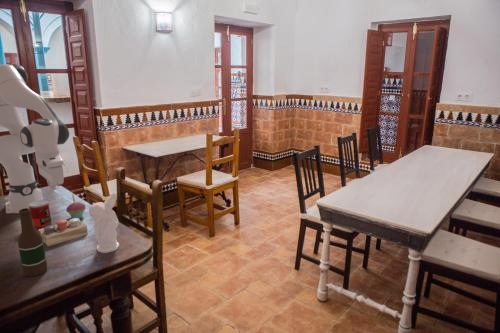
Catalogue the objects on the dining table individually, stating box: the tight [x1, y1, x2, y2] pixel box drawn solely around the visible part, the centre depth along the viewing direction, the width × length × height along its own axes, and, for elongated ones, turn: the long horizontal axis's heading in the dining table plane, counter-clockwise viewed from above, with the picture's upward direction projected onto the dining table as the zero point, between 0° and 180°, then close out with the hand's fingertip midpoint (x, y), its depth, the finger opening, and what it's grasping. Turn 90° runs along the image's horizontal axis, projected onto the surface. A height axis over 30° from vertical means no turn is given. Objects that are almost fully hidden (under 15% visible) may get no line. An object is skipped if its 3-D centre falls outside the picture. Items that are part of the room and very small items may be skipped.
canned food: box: [29, 199, 53, 229], centre depth 166 cm, size 8×8×11 cm
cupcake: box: [66, 192, 87, 219], centre depth 175 cm, size 9×8×12 cm
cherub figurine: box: [88, 193, 120, 254], centre depth 145 cm, size 12×12×22 cm
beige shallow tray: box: [37, 220, 89, 248], centre depth 156 cm, size 11×16×4 cm
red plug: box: [55, 219, 68, 231], centre depth 156 cm, size 4×4×6 cm
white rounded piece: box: [68, 218, 81, 227], centre depth 159 cm, size 4×4×6 cm
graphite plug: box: [44, 224, 55, 235], centre depth 153 cm, size 4×4×6 cm
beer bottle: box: [17, 208, 48, 278], centre depth 127 cm, size 8×8×24 cm
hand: (52, 189), depth 155 cm, fingers closed
